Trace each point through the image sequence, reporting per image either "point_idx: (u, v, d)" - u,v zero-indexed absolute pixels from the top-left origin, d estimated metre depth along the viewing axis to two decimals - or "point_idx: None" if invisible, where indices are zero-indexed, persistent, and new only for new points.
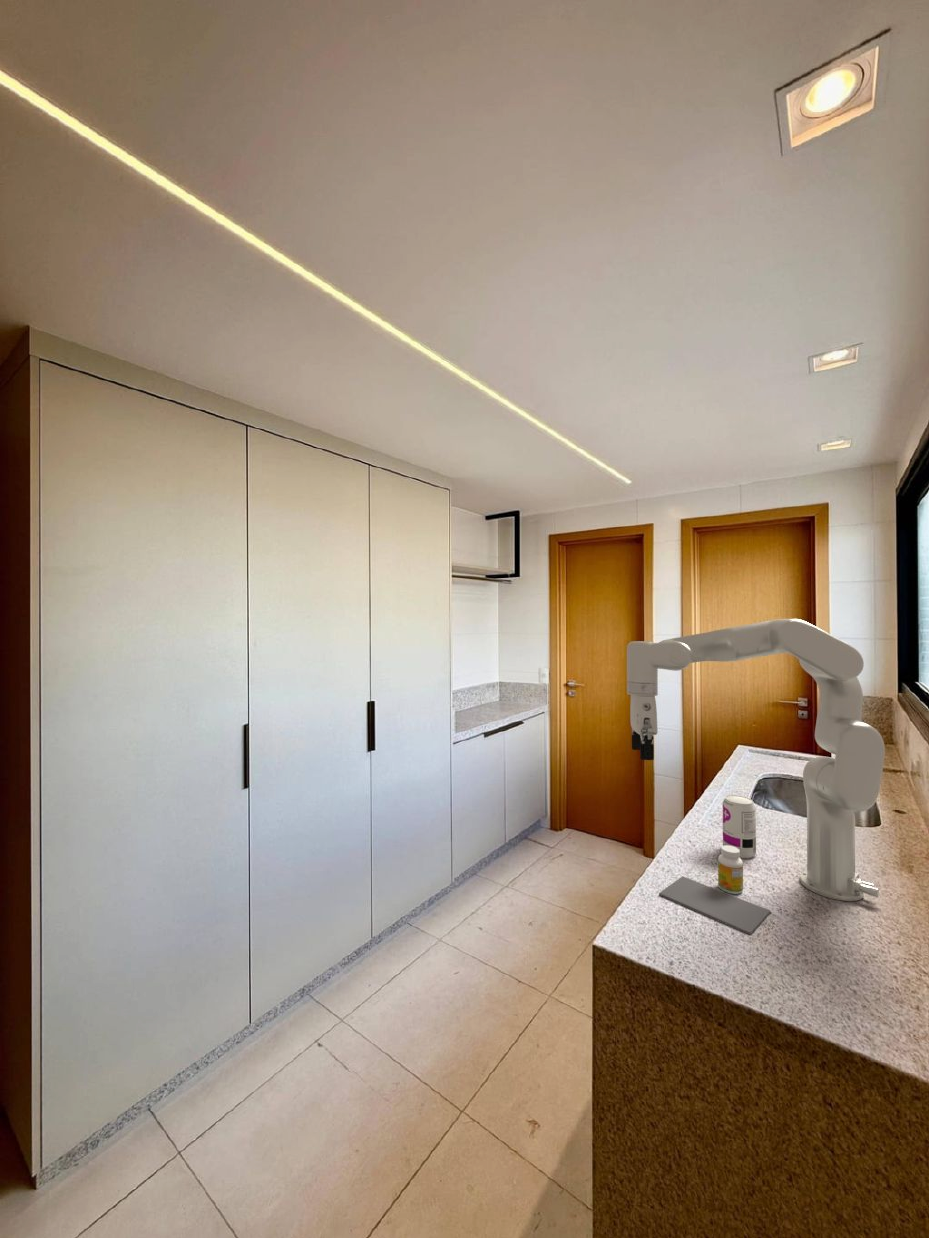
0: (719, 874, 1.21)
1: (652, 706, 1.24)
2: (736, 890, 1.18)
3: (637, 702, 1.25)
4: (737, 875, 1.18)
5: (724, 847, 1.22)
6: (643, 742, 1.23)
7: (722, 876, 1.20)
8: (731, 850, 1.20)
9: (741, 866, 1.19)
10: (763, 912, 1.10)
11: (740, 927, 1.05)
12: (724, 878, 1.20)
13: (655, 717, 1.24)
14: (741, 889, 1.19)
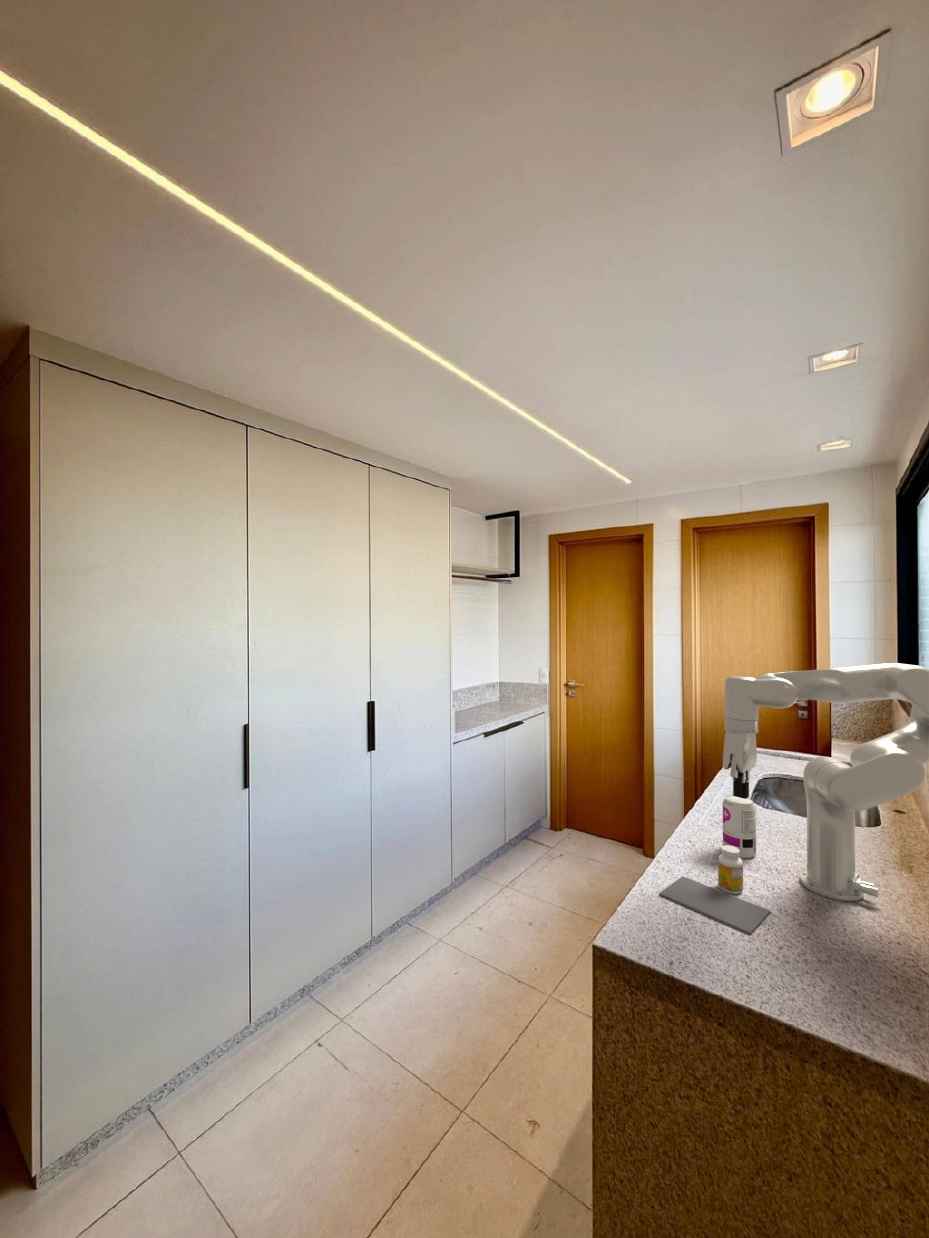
0: (719, 874, 1.21)
1: None
2: (736, 890, 1.18)
3: (755, 735, 1.27)
4: (737, 875, 1.18)
5: (724, 847, 1.22)
6: None
7: (722, 876, 1.20)
8: (731, 850, 1.20)
9: (741, 866, 1.19)
10: (763, 912, 1.10)
11: (740, 927, 1.05)
12: (724, 878, 1.20)
13: None
14: (741, 889, 1.19)
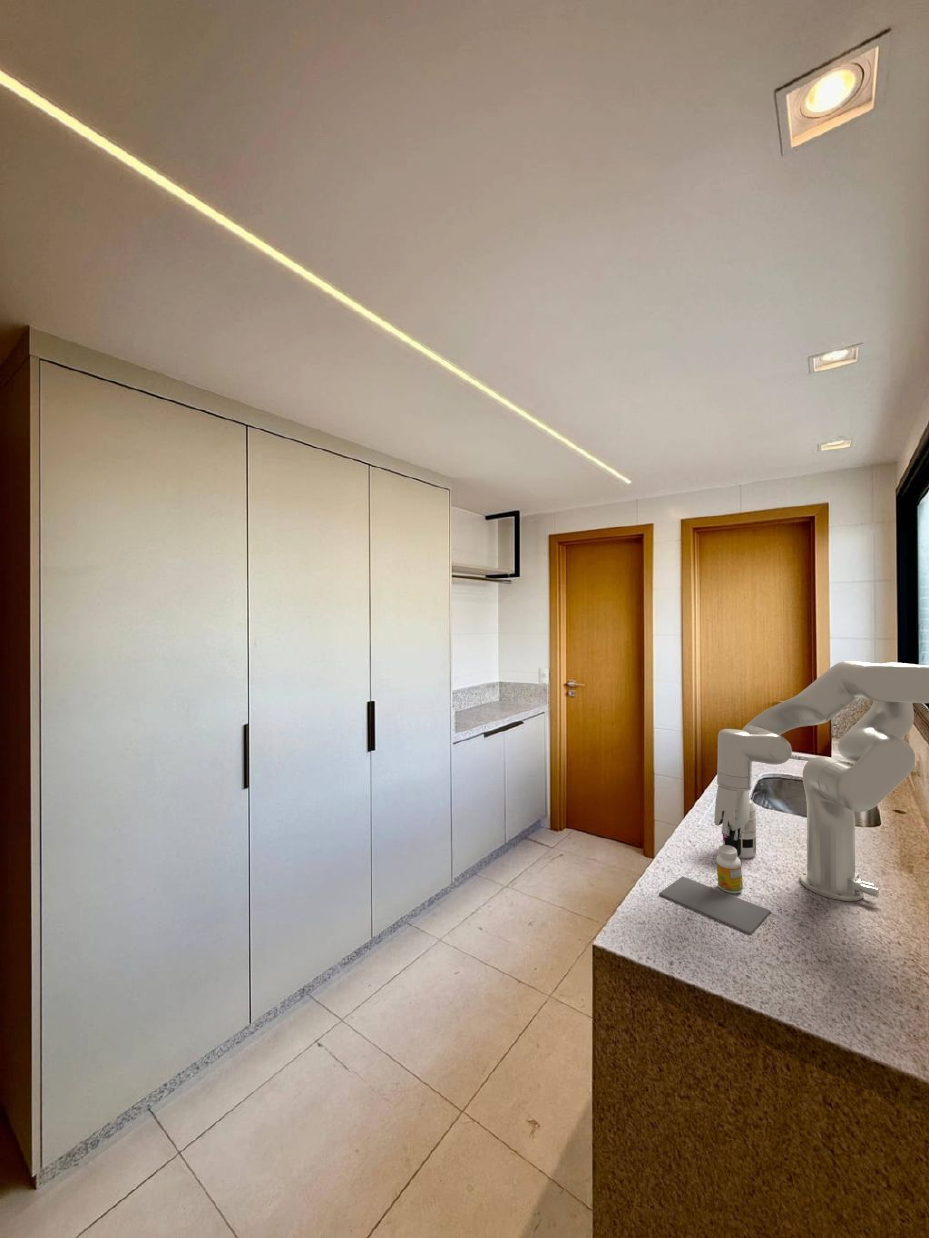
0: (718, 874, 1.21)
1: None
2: (736, 890, 1.18)
3: (748, 791, 1.24)
4: (735, 875, 1.18)
5: (721, 848, 1.21)
6: None
7: (721, 877, 1.20)
8: (728, 851, 1.19)
9: (739, 866, 1.18)
10: (763, 912, 1.10)
11: (740, 927, 1.05)
12: (723, 879, 1.19)
13: None
14: (741, 888, 1.19)
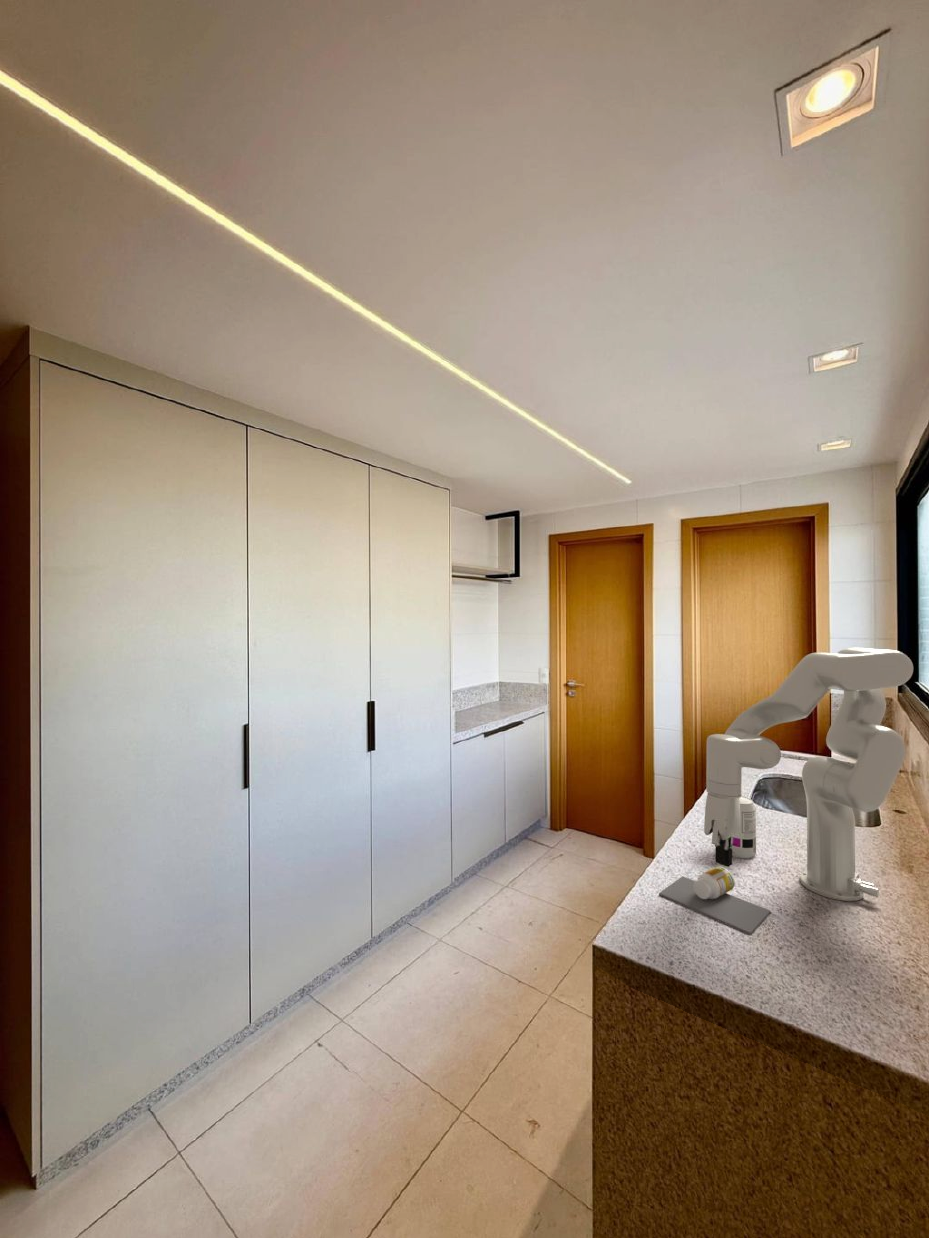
0: None
1: None
2: (731, 889, 1.17)
3: None
4: (723, 893, 1.15)
5: (696, 889, 1.16)
6: None
7: None
8: (703, 893, 1.14)
9: (720, 890, 1.14)
10: (763, 912, 1.10)
11: (740, 927, 1.05)
12: None
13: None
14: (733, 883, 1.17)
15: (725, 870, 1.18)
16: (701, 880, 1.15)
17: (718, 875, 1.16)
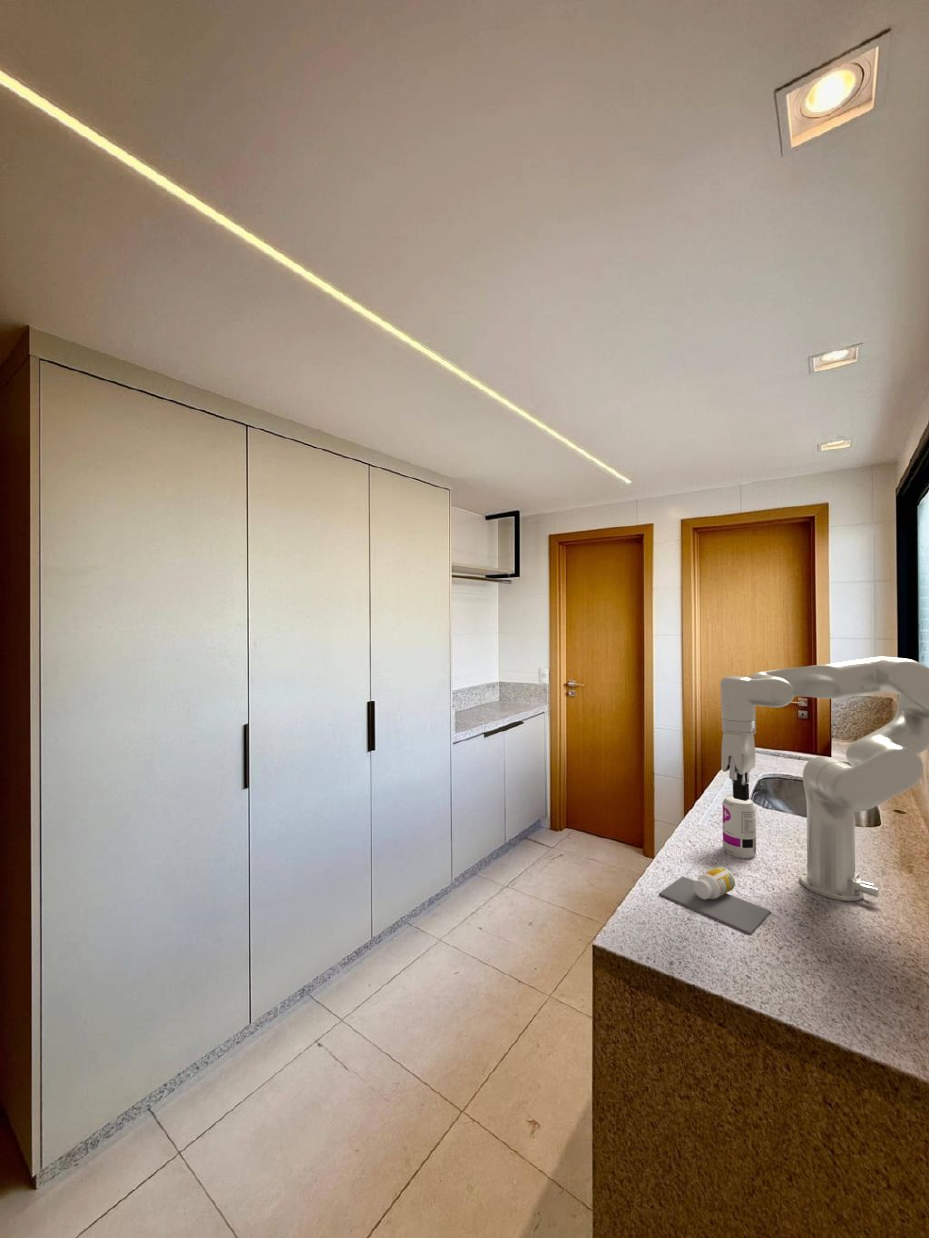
0: None
1: None
2: (731, 889, 1.17)
3: (753, 736, 1.26)
4: (723, 893, 1.15)
5: (696, 889, 1.15)
6: None
7: None
8: (703, 893, 1.14)
9: (720, 890, 1.14)
10: (763, 912, 1.10)
11: (740, 927, 1.05)
12: None
13: None
14: (733, 884, 1.17)
15: (726, 870, 1.18)
16: (701, 880, 1.15)
17: (719, 875, 1.16)
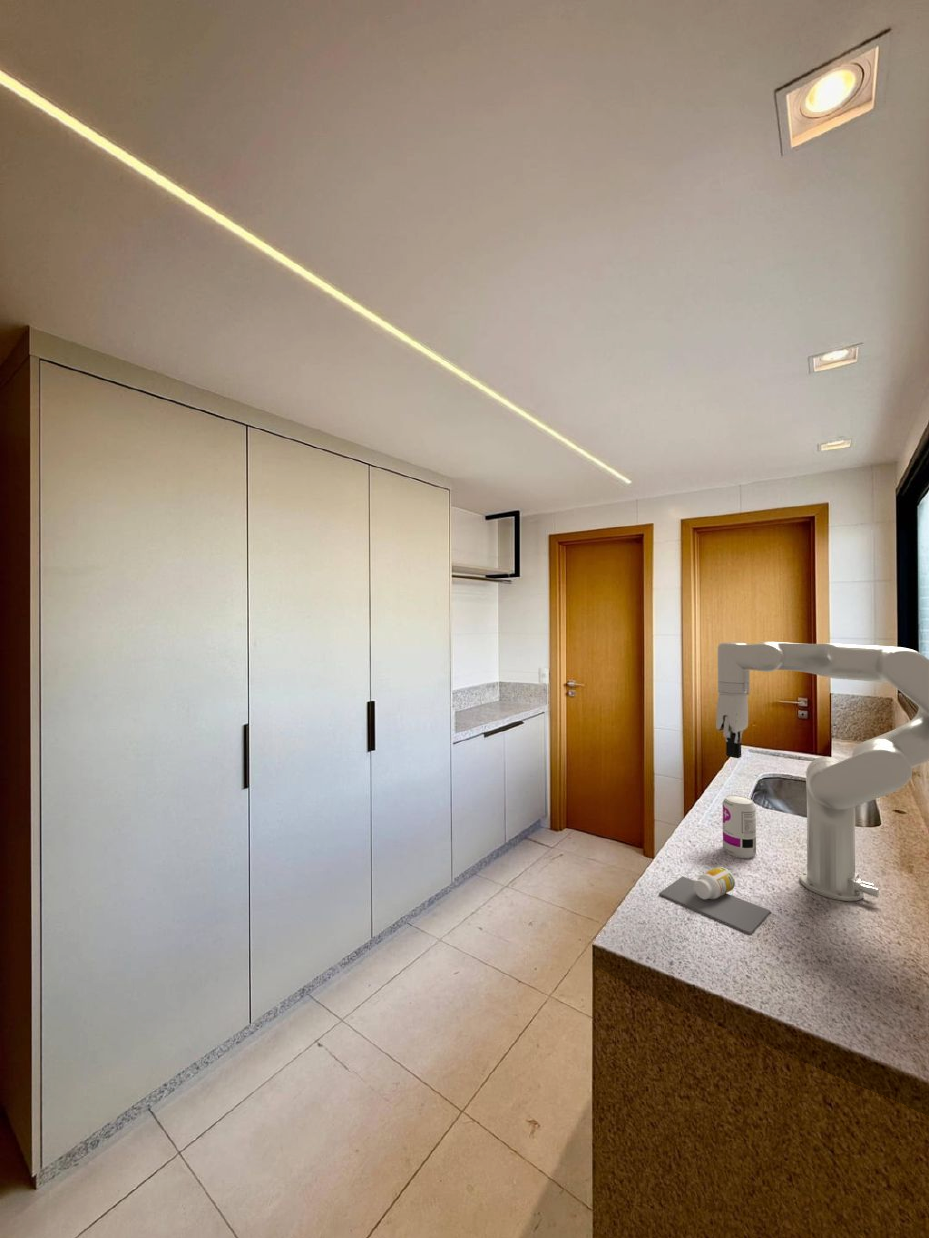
0: None
1: None
2: (731, 889, 1.17)
3: None
4: (723, 893, 1.15)
5: (696, 889, 1.15)
6: None
7: None
8: (703, 893, 1.14)
9: (720, 890, 1.14)
10: (763, 912, 1.10)
11: (740, 927, 1.05)
12: None
13: None
14: (733, 884, 1.17)
15: (726, 870, 1.18)
16: (701, 880, 1.15)
17: (719, 875, 1.16)
